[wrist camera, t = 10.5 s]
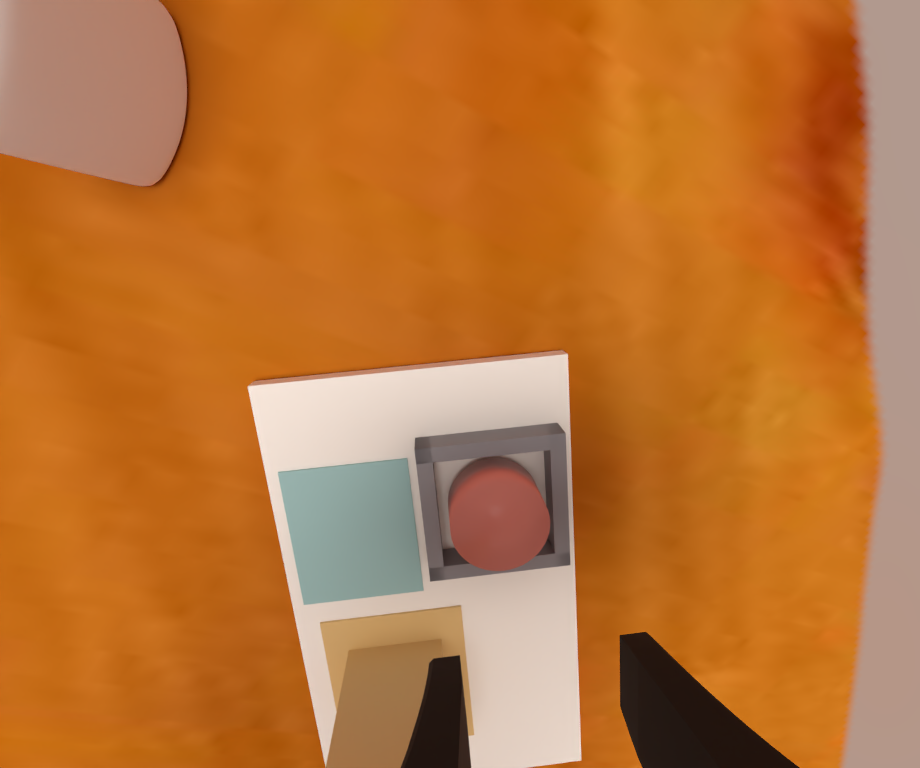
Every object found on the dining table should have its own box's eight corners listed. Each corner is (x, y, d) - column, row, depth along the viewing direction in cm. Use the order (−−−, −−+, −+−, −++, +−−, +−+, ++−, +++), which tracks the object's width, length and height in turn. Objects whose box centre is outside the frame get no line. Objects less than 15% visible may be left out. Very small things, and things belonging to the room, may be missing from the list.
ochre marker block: (449, 712, 23) (459, 906, 16) (361, 723, 22) (334, 924, 16) (441, 638, 22) (447, 813, 15) (348, 649, 21) (313, 831, 15)
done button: (540, 535, 20) (552, 565, 18) (452, 545, 20) (455, 576, 18) (535, 453, 19) (547, 475, 17) (443, 463, 19) (445, 486, 17)
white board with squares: (576, 744, 25) (589, 785, 23) (334, 776, 24) (326, 821, 22) (562, 350, 20) (577, 360, 18) (254, 380, 19) (235, 395, 17)
